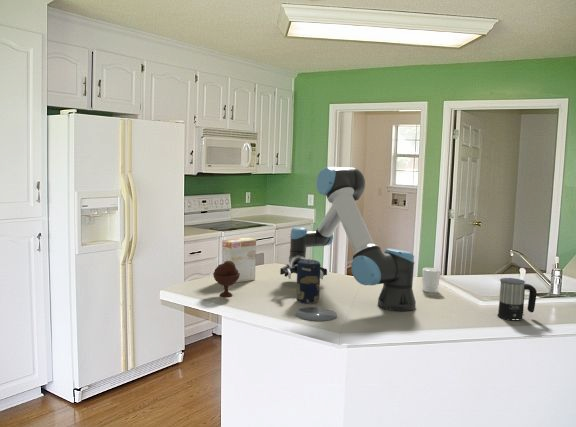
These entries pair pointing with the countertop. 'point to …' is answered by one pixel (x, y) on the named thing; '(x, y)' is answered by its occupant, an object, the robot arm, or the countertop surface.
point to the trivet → (316, 314)
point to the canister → (308, 281)
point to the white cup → (430, 279)
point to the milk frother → (515, 298)
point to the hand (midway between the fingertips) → (306, 275)
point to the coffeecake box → (241, 256)
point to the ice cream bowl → (226, 276)
